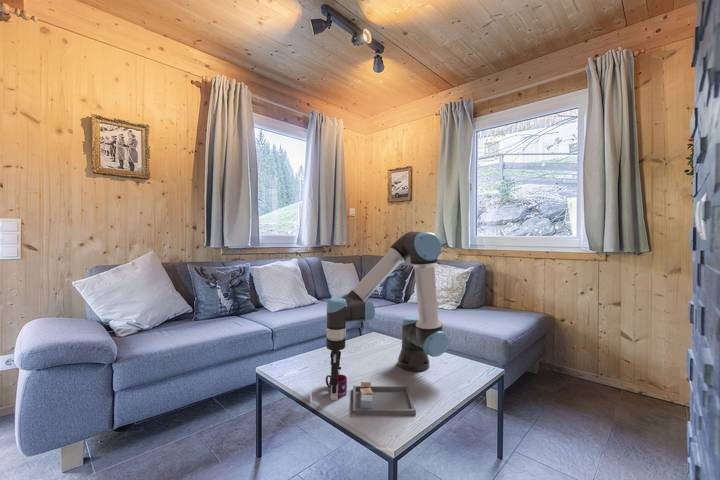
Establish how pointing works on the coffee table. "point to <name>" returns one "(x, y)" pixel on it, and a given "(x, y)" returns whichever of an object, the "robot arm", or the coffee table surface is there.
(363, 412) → the tray
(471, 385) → the coffee table surface
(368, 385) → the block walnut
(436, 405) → the coffee table surface
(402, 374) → the coffee table surface
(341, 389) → the mug
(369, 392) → the block beech
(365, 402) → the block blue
